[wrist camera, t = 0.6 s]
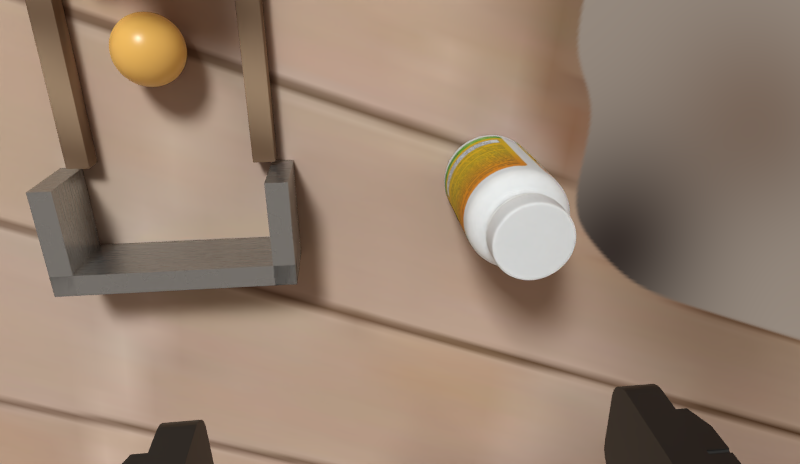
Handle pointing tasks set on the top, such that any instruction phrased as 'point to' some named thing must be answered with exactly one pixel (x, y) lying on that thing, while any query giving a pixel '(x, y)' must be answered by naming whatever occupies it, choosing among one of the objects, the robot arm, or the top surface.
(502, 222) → the supplement bottle
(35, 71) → the top surface
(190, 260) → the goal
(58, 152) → the top surface
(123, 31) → the ball
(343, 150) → the top surface
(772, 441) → the top surface
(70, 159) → the lane
